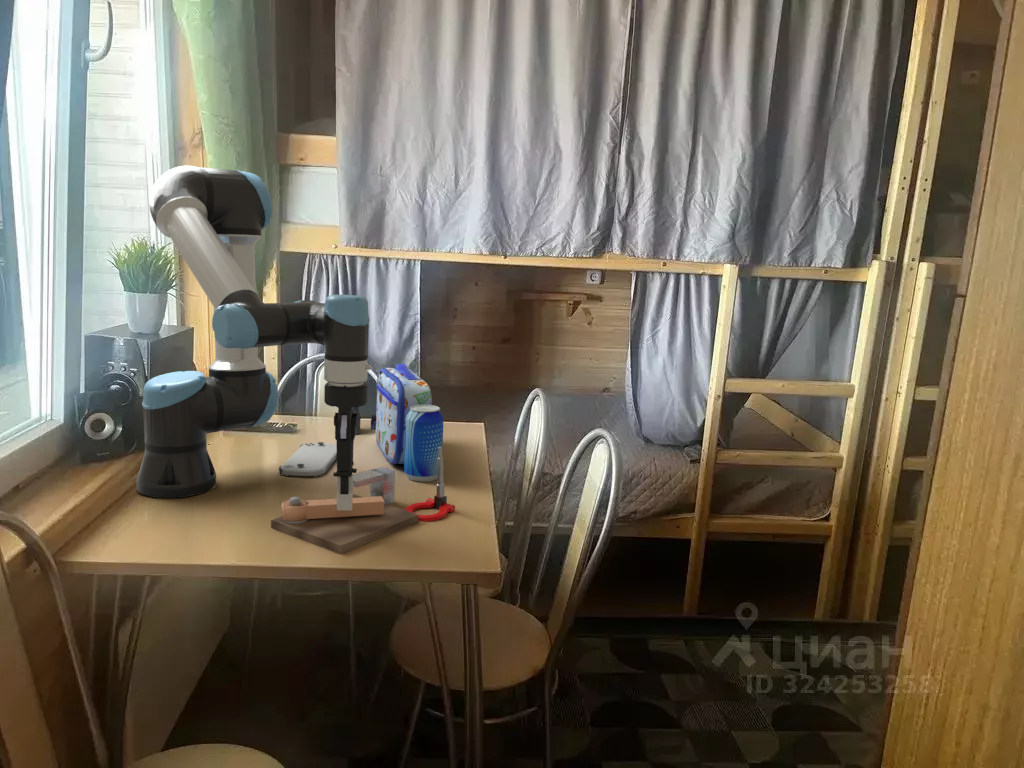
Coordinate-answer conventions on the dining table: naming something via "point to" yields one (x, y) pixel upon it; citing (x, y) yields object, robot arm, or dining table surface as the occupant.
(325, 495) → the dining table surface
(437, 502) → the tow hook
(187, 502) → the dining table surface
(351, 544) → the pintle plate
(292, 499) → the link
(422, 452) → the beer can
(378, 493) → the keeper
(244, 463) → the dining table surface
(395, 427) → the lunch box
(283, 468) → the handheld gaming console
